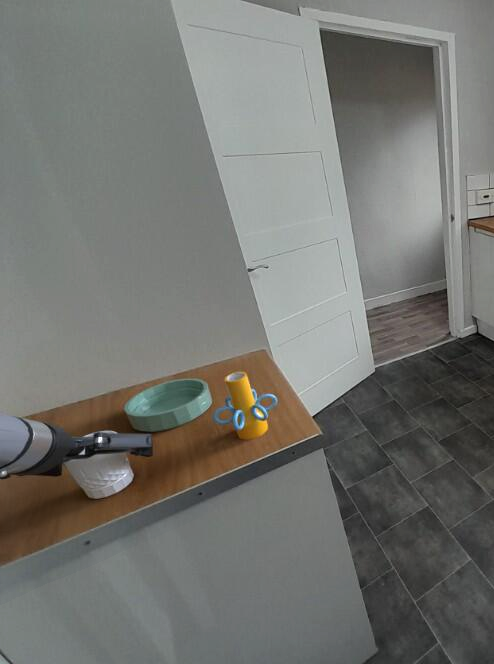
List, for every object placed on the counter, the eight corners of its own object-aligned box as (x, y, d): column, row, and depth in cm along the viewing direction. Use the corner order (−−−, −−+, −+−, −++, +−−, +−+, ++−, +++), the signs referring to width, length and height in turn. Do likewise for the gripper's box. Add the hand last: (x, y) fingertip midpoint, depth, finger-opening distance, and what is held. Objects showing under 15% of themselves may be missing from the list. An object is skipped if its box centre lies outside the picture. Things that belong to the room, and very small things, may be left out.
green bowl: (117, 439, 90) (109, 421, 88) (151, 400, 104) (144, 383, 102) (199, 427, 95) (193, 409, 93) (221, 390, 108) (216, 374, 106)
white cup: (77, 488, 78) (53, 448, 73) (130, 463, 84) (110, 425, 79) (89, 509, 74) (64, 467, 69) (144, 481, 80) (123, 441, 75)
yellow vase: (212, 439, 91) (190, 383, 84) (253, 412, 100) (236, 359, 93) (253, 454, 87) (233, 396, 81) (292, 424, 96) (277, 370, 90)
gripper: (-111, 500, 54) (15, 499, 72) (128, 450, 63) (185, 461, 82) (-99, 443, 56) (20, 456, 75) (129, 403, 65) (184, 424, 84)
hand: (106, 458), depth 78 cm, fingers open, 13 cm apart
